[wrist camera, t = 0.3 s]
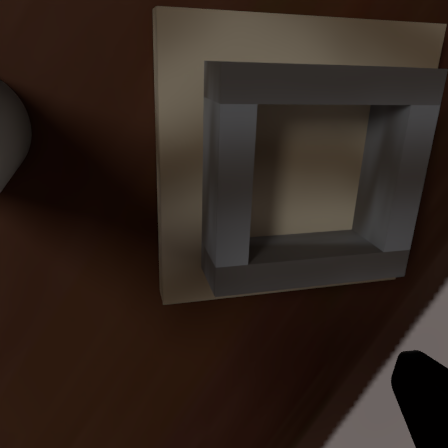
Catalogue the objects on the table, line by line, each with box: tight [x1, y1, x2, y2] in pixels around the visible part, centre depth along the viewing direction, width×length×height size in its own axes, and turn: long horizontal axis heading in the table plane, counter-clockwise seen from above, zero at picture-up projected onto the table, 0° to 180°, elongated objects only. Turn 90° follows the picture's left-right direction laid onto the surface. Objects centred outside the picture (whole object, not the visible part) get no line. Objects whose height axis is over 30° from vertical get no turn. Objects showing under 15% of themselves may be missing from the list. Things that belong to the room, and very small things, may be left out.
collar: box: [152, 6, 448, 305], centre depth 21 cm, size 14×14×4 cm
